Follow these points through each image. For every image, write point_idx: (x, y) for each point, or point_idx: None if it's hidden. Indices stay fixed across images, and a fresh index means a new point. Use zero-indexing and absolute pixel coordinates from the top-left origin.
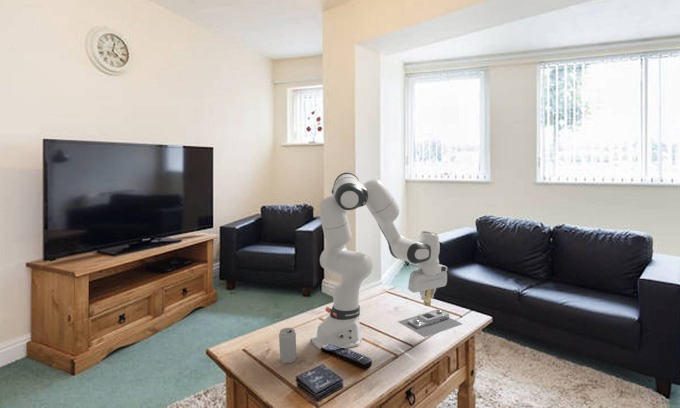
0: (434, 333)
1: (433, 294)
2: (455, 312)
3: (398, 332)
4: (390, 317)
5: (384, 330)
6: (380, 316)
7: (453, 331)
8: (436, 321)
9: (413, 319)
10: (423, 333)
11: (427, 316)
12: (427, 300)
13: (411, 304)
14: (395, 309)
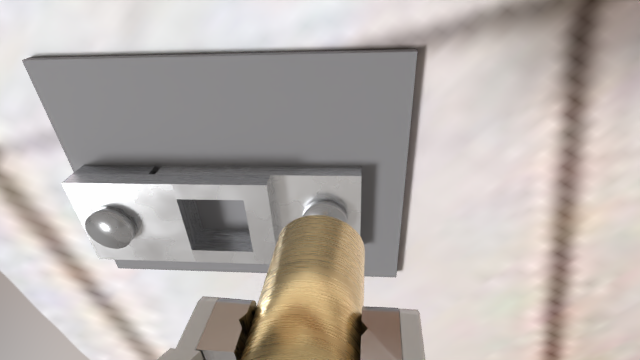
0: (310, 55)
1: (183, 345)
2: (3, 206)
3: (488, 195)
4: None
5: (531, 248)
6: None
7: (146, 19)
8: (191, 169)
9: None
10: (379, 97)
11: (208, 236)
12: (344, 282)
13: None
14: None
